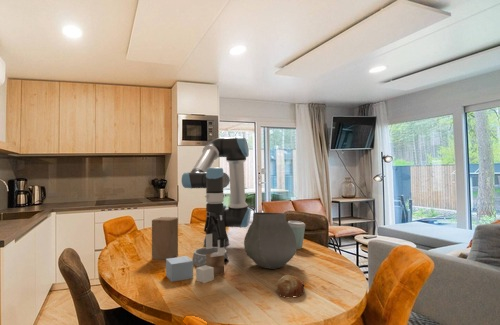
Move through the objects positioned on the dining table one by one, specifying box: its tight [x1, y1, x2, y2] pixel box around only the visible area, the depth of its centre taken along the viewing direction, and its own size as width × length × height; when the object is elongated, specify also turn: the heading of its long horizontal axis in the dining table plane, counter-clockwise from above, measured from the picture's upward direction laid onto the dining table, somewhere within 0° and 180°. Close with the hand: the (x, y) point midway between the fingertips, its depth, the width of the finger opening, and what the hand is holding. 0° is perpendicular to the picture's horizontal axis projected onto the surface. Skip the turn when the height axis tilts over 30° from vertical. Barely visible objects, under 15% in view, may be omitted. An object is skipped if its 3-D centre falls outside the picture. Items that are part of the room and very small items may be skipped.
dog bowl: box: [191, 246, 230, 267], centre depth 153 cm, size 17×18×5 cm
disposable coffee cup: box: [287, 220, 306, 250], centre depth 178 cm, size 11×11×15 cm
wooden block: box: [151, 216, 179, 261], centre depth 161 cm, size 10×10×20 cm
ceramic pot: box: [243, 211, 298, 270], centre depth 145 cm, size 24×24×25 cm
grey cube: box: [195, 265, 215, 284], centre depth 127 cm, size 5×5×5 cm
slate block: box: [165, 255, 194, 283], centre depth 131 cm, size 9×9×7 cm
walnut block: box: [206, 252, 225, 277], centre depth 135 cm, size 6×6×8 cm
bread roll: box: [275, 274, 305, 298], centre depth 113 cm, size 10×10×8 cm
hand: (214, 251), depth 135 cm, fingers open, 13 cm apart
